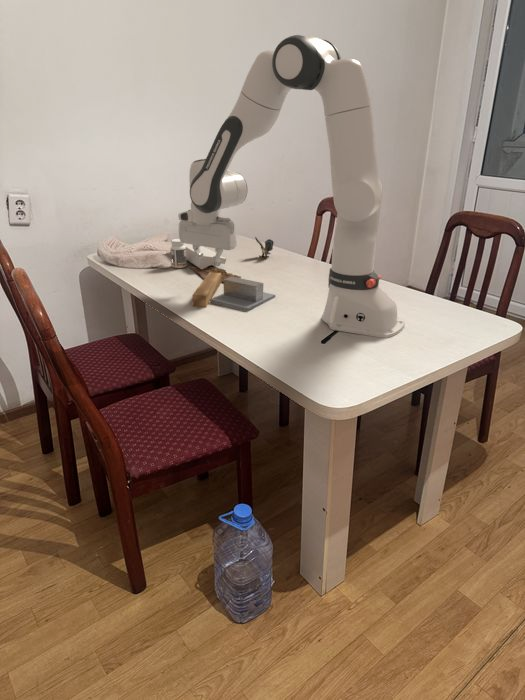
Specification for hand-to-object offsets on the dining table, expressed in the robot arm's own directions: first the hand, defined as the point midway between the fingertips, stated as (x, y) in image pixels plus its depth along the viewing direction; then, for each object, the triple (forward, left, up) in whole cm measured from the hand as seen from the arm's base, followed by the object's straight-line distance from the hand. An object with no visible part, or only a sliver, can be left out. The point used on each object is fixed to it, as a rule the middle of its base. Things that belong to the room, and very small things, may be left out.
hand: (208, 260), depth 159 cm
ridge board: (-14, 0, -11) cm, 17 cm away
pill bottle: (+28, -18, -11) cm, 35 cm away
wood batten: (-1, +2, -11) cm, 11 cm away
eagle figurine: (+9, -45, -11) cm, 48 cm away
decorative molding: (+26, -33, -9) cm, 43 cm away
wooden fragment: (+9, -20, -12) cm, 25 cm away
